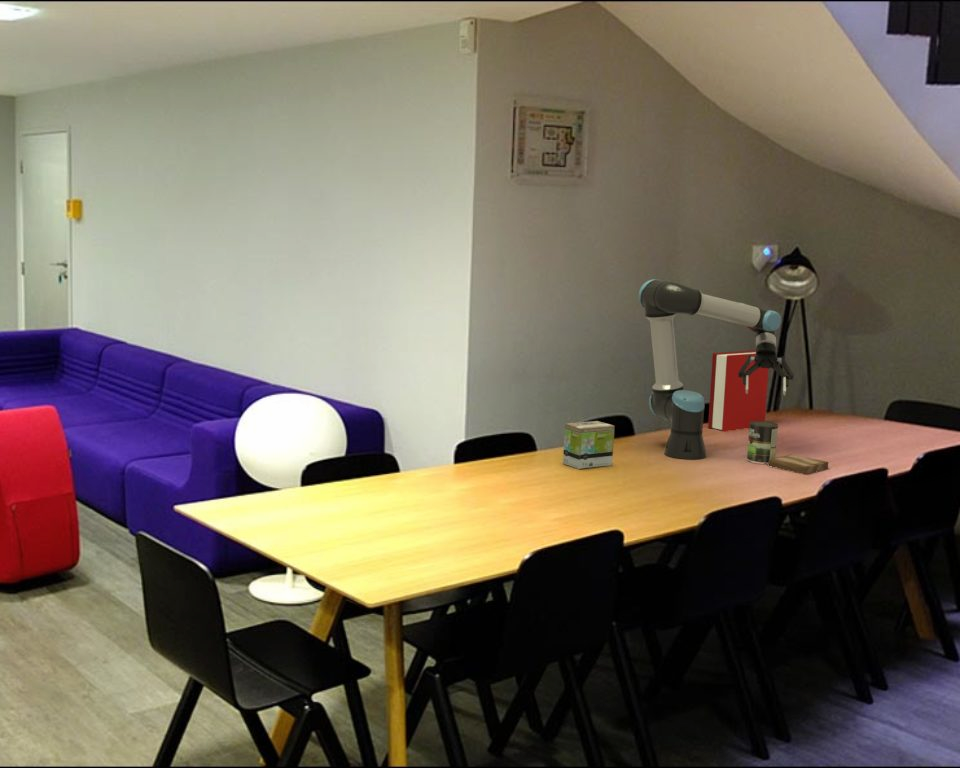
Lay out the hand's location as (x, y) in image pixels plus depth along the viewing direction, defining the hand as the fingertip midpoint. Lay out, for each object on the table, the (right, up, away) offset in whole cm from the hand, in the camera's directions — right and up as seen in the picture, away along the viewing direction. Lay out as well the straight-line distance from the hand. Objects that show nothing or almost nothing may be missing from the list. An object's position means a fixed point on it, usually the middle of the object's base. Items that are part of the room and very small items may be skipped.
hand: (765, 392), depth 404 cm
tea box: (-68, -26, -21) cm, 76 cm away
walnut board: (+7, -27, -16) cm, 32 cm away
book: (+3, -15, +57) cm, 59 cm away
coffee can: (-4, -25, -7) cm, 27 cm away
